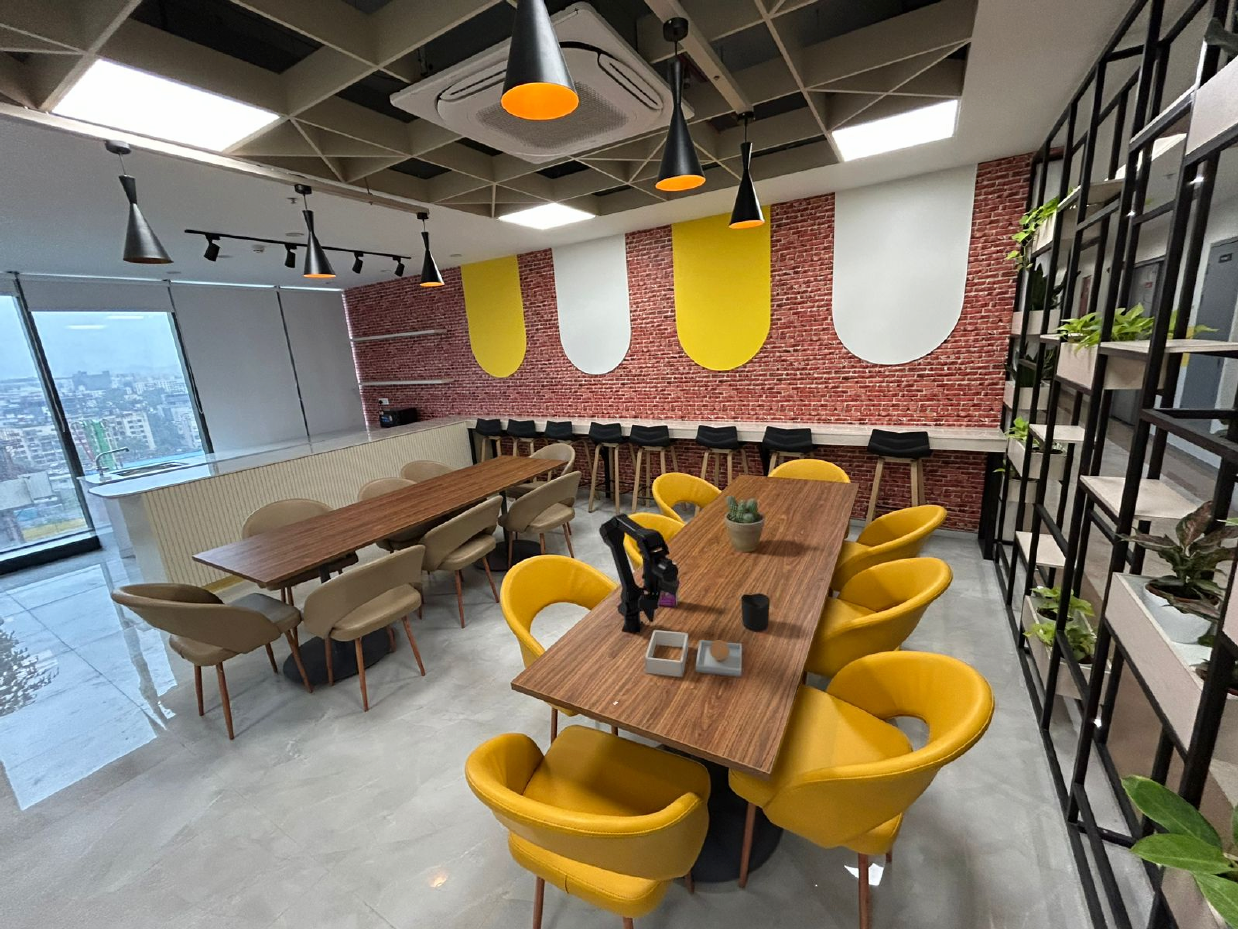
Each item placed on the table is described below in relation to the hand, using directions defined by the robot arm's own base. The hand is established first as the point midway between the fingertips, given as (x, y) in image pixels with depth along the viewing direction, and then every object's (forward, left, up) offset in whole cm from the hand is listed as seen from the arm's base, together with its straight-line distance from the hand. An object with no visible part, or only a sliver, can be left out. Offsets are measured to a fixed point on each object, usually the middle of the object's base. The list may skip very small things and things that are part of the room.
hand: (654, 614), depth 161 cm
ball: (+4, +21, -8) cm, 23 cm away
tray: (+4, +21, -12) cm, 25 cm away
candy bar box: (-28, -2, -12) cm, 31 cm away
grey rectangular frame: (+6, +5, -12) cm, 14 cm away
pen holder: (-18, +32, -12) cm, 39 cm away
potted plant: (-84, +28, -12) cm, 89 cm away
